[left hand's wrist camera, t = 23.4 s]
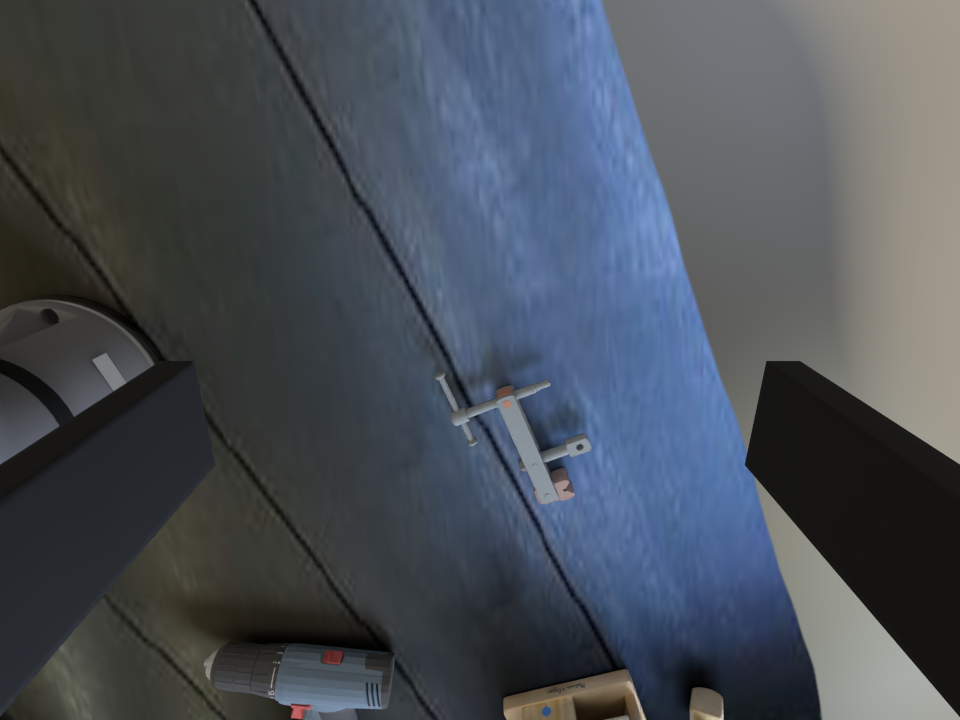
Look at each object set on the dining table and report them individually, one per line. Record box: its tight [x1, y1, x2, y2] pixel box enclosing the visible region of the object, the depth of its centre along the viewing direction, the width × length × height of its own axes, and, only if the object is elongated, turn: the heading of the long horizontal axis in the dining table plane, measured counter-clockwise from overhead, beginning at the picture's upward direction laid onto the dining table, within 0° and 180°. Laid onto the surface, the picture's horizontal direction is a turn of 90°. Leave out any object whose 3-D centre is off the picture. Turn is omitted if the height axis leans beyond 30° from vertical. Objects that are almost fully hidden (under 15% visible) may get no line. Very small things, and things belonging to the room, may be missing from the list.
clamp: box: [434, 371, 591, 505], centre depth 46 cm, size 15×2×10 cm
